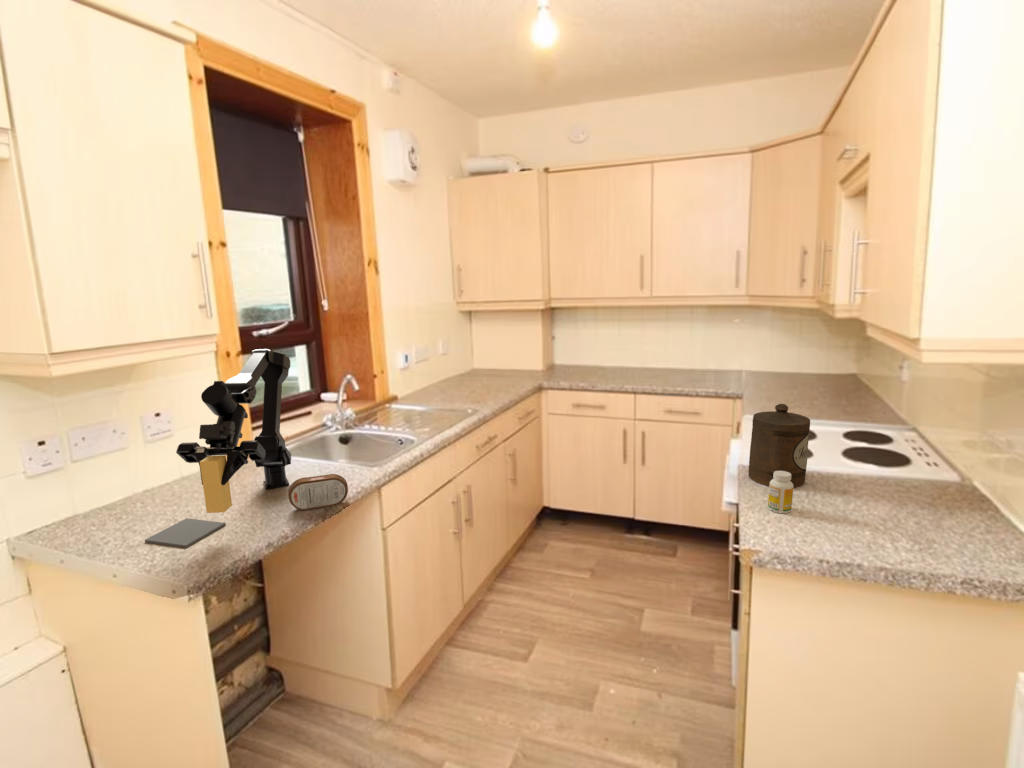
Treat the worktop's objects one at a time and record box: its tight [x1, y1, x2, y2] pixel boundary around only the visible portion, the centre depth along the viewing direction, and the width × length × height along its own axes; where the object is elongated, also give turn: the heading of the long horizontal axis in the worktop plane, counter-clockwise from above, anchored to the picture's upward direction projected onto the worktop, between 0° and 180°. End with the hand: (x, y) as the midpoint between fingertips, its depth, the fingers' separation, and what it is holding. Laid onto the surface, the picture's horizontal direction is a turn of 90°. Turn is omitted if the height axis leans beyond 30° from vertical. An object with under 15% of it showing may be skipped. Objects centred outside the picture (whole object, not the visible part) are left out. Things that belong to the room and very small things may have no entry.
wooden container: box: [748, 403, 811, 488], centre depth 159 cm, size 15×15×22 cm
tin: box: [287, 473, 349, 511], centre depth 149 cm, size 15×3×8 cm, turn 111°
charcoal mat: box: [144, 517, 226, 549], centre depth 136 cm, size 12×12×1 cm
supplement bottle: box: [767, 471, 794, 514], centre depth 140 cm, size 5×5×10 cm
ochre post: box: [199, 455, 233, 514], centre depth 131 cm, size 4×4×12 cm
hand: (213, 484), depth 130 cm, fingers closed on ochre post, 4 cm apart
